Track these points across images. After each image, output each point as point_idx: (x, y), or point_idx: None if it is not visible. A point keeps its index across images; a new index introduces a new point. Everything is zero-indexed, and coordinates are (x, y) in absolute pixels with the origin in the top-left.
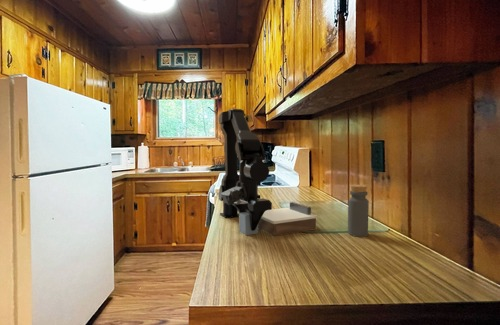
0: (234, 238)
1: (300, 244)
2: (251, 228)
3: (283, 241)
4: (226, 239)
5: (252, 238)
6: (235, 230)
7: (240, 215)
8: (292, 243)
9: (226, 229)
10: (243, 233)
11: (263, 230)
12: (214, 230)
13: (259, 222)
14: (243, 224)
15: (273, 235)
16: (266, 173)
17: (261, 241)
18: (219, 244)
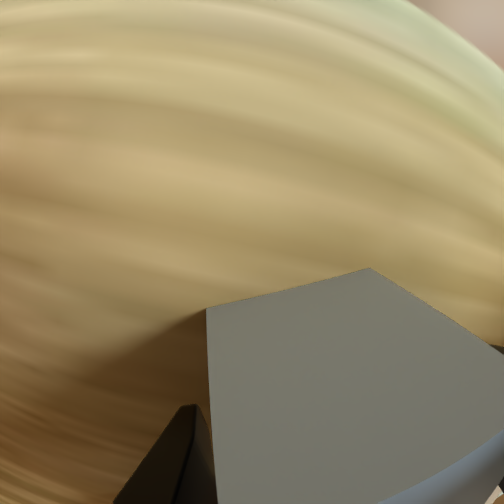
0: (110, 149)
1: (9, 499)
2: (181, 419)
3: (34, 480)
4: (105, 55)
5: (79, 347)
6: (414, 236)
7: (480, 398)
8: (13, 488)
9: (463, 155)
10: (257, 299)
11: None
12: (452, 41)
13: None
14: (288, 362)
15: None
16: None
17: (9, 383)
18: (7, 5)
